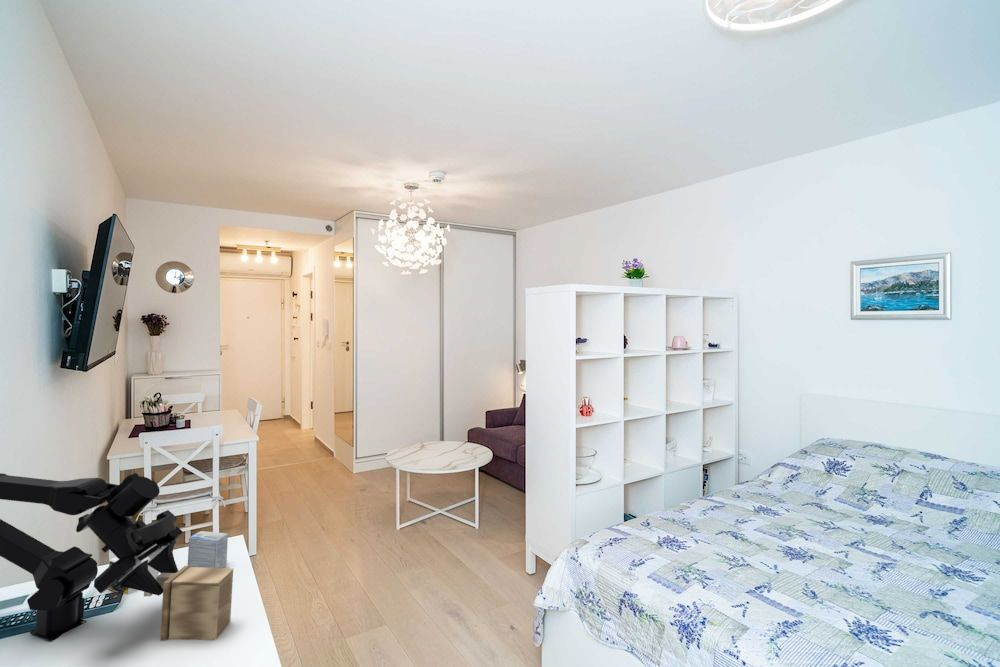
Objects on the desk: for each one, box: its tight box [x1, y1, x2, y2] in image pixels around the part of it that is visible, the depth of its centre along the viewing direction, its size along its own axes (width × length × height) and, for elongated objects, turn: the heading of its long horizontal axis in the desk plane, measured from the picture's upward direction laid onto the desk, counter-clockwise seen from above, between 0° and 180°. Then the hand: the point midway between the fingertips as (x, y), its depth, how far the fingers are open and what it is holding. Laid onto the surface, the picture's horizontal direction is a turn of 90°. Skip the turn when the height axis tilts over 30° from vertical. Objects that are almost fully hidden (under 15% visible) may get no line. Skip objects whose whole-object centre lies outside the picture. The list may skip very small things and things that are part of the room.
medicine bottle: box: [107, 556, 160, 595], centre depth 115 cm, size 7×7×12 cm
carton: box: [168, 567, 234, 641], centre depth 99 cm, size 9×6×12 cm, turn 93°
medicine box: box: [187, 530, 229, 568], centre depth 125 cm, size 8×4×9 cm, turn 84°
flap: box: [143, 565, 190, 641], centre depth 99 cm, size 5×7×11 cm
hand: (170, 586), depth 99 cm, fingers closed on flap, 5 cm apart
